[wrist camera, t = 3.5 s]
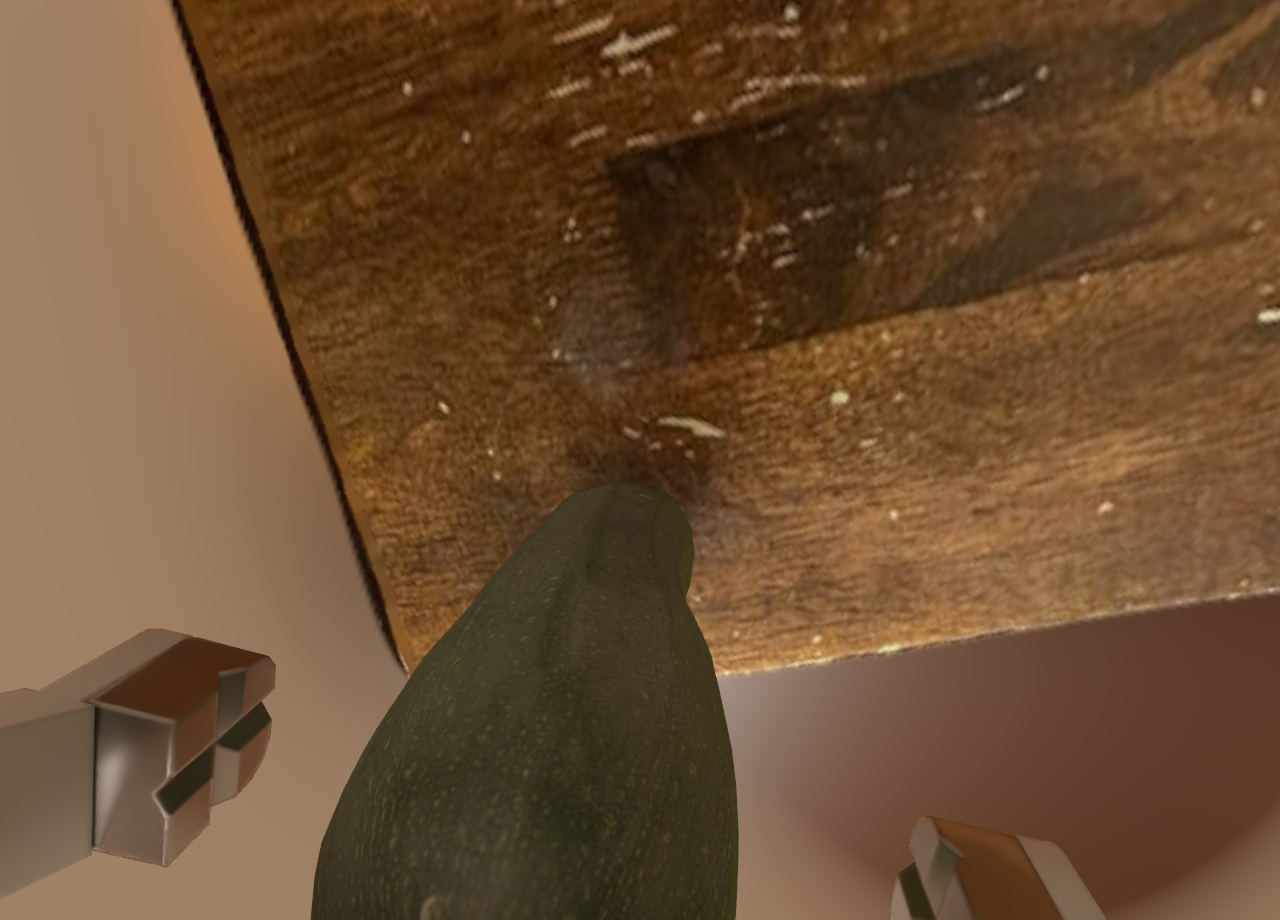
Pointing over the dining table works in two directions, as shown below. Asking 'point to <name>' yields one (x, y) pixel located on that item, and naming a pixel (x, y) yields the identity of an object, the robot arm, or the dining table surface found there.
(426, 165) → the dining table surface
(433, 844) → the vegetable
